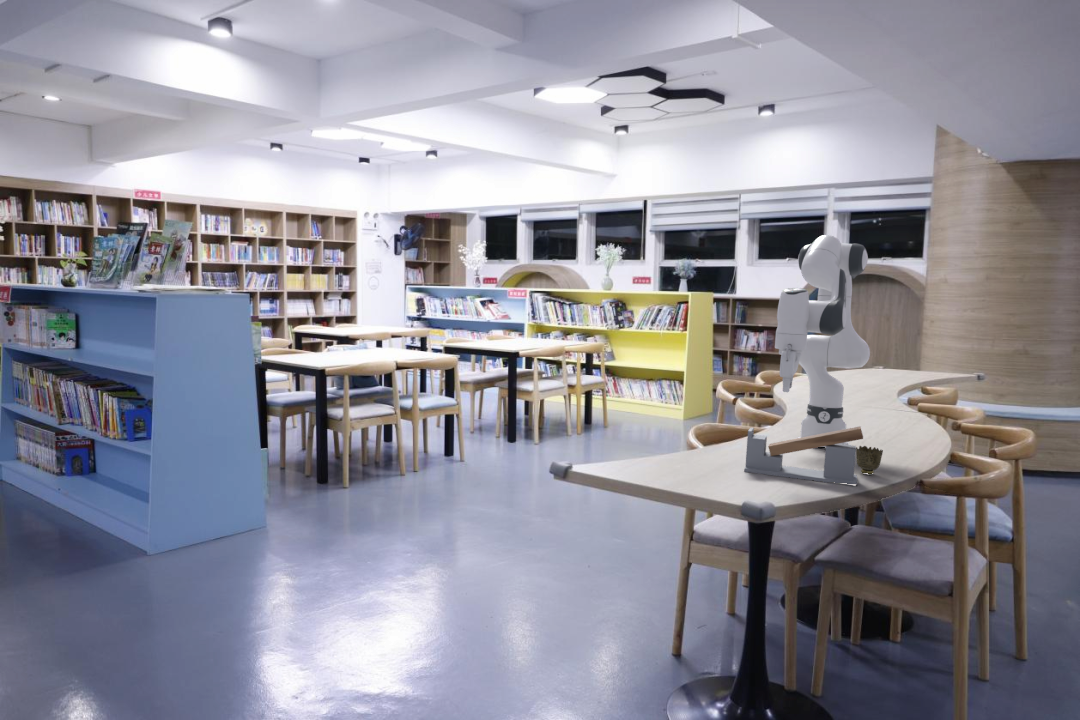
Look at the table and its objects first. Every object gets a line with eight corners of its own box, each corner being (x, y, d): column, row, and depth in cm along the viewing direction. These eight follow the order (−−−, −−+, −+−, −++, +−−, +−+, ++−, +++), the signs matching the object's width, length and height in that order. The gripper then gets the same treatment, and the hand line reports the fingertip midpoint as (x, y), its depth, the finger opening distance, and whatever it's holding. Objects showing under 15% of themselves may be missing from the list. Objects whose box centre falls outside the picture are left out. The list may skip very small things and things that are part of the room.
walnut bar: (768, 453, 224) (771, 417, 223) (860, 464, 214) (863, 426, 213) (767, 455, 220) (770, 419, 219) (860, 467, 211) (864, 429, 209)
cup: (872, 478, 218) (874, 452, 217) (848, 473, 224) (851, 447, 223) (885, 475, 222) (887, 449, 222) (862, 470, 228) (864, 444, 227)
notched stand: (748, 464, 230) (751, 426, 228) (856, 478, 218) (860, 438, 217) (744, 471, 220) (747, 432, 219) (856, 486, 209) (860, 444, 207)
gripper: (799, 346, 206) (796, 395, 208) (804, 342, 225) (800, 387, 227) (776, 344, 209) (772, 393, 210) (782, 340, 228) (779, 385, 229)
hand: (787, 389), depth 219 cm, fingers open, 8 cm apart
